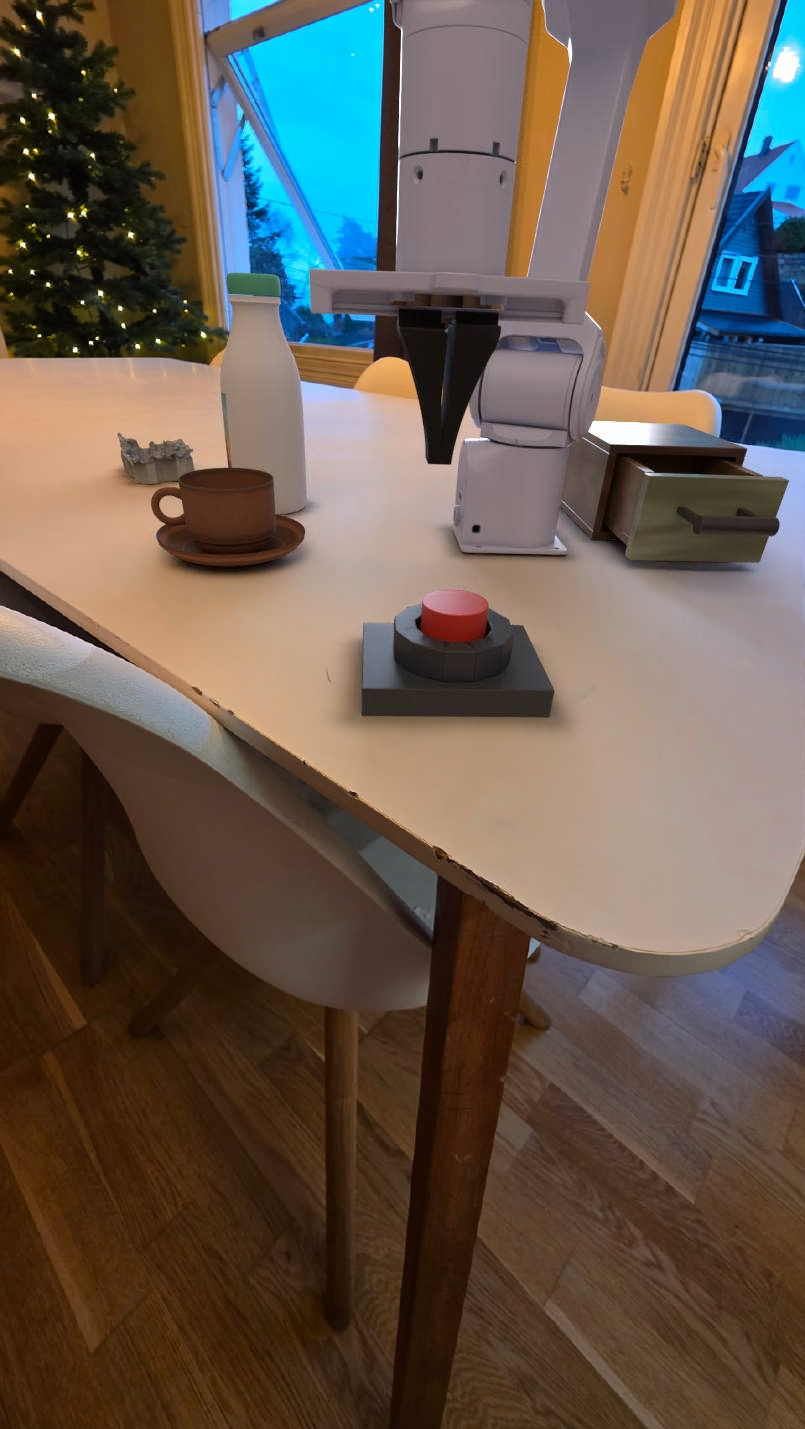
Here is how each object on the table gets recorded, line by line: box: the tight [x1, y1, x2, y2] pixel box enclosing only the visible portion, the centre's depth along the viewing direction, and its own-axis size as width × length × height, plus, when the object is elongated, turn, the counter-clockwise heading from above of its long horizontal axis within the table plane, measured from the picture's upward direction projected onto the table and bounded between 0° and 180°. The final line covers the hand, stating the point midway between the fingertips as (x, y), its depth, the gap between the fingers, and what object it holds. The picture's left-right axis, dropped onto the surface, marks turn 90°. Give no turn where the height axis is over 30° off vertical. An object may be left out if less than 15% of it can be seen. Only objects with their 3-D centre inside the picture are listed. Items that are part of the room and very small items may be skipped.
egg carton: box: [116, 432, 195, 485], centre depth 74 cm, size 11×8×4 cm
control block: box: [361, 603, 555, 718], centre depth 35 cm, size 10×8×4 cm
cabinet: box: [560, 420, 748, 541], centre depth 64 cm, size 14×13×9 cm
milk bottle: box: [219, 272, 308, 515], centre depth 60 cm, size 8×8×20 cm
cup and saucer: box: [150, 467, 306, 567], centre depth 51 cm, size 12×12×6 cm
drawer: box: [603, 454, 790, 564], centre depth 54 cm, size 17×11×7 cm, turn 3°
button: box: [421, 589, 490, 642], centre depth 34 cm, size 4×4×2 cm
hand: (438, 461), depth 38 cm, fingers closed
